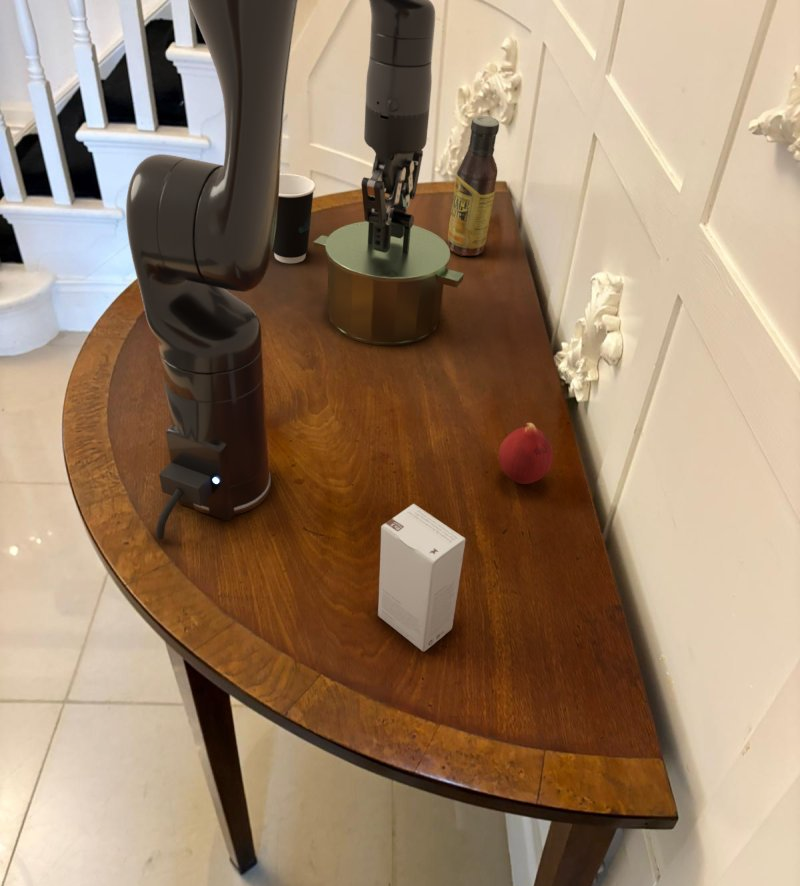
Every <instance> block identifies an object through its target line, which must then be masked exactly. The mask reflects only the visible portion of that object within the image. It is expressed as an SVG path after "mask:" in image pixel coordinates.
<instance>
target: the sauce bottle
mask: <svg viewBox="0 0 800 886" xmlns="http://www.w3.org/2000/svg"><path fill="white" fill-rule="evenodd" d="M499 129H500V121H499V120H498V119H496V118H495V117H492V116H488V115H477V116H474V117H473V118H472V119H471V124H470V131H471V132H470V138H469V144H468V147H467V148H468V149H467V151H466V153H465V155H464V157H463V159H462V161H461V163H460V166H459V168H458V169H457V171H456V176H455V183H454V189H453V195H452V202H451V204H452V205H451V208H450V218H449V225H448V232H447V245H448V247H449V249H450V252H452V253H454V254H456V255H458V256H461V257H462V256H463V257H475V256H479V255H481V254H482V253H483V252H484V249H485V244H486V242H487V236H488V231H489V225H490V220H491V215H492V209H493V205H494V198H495V194H496V182H497V177H498V166H497V163H496V160H495V158H494V153H495V144H496V138H497V135H498V133H499Z"/></svg>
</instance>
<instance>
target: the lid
mask: <svg viewBox="0 0 800 886" xmlns="http://www.w3.org/2000/svg"><path fill="white" fill-rule="evenodd" d="M386 211H387V207H386ZM414 221H415V216H414V215H413V214H411V213H407V212H406V213H403V212H399V211H395V210H393V216H392V222H391V224H394V225H398V226H402V227H405V228H404V236H403V237H402V238H396V237H392V236H391V240H390V249H389V250H388V251H387V252H386V253H384V252H380V251H376V250H374V249H373V247H372V243H373V223H371V222H366V221H365V220H364V221H359V222H354V223H350V224H346V225H344V226H341V227H339V228H337V229H335V230H334V231H333V232H331V233H330V234H329V235H328V236H327V237H328V238H327V240H326V244H325V251H324V252H325V254H326V256H327V258H329V260H330V261H331V262H332V263H333V264H334V265H336V266H337V267H338V268H340V269H342V270H344V271H345V272H348V273H350V274H352V275H355V276H358V277H361V278H366V279H370V280H376V281H383V282H409V281H416V280H421V279H425V278H428V277H431V276H434V275H436V274H438V273H439V272H441V271H442V270H443V269H445V268H446V269H447V267H448V265H449V263H450V259H451V250H450V249H449V247H448V243H447V242H446V241H445V240H444V239H443V238H442V237H441V236H439V235H438V234H436V233H434V232H432V231H430V230H428V229H425V228H422V227H421V226H418V225H414V223H415V222H414Z"/></svg>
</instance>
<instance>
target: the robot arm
mask: <svg viewBox="0 0 800 886" xmlns="http://www.w3.org/2000/svg"><path fill="white" fill-rule="evenodd" d="M187 1H188V4H189V6H190V8H191V11H192V13H193V16H194V18H195V22H196V24H197V25H198V28H199V31H200V33H201V35H202V38H203V40H204V43H205V45H206V47H207V50H208V52H209V55H210V58H211V60H212V63H213V65H214V68H215V72H216V74H217V75H216V76H217V78H218V81H219V86H220V89H221V94H222V100H223V109H224V118H225V120H224V121H225V145H224V146H225V147H224V161H223V164H218V163H214V162H208V161H203V160H198V159H194V158H193V159H192V158H187V157H183V156H178V155H171V154H165V153H164V154H163V153H161V154H159V153H158V154H153V155H150V156H148V157H146V158H144V159H143V160H142V161H141V162H140V163H139V164H138V165H137V166H136V167H135V170H134V171H133V174H132V176H131V178H130V180H129V183H128V188H127V195H126V202H125V203H126V204H125V212H126V213H125V218H126V219H125V220H126V229H127V239H128V243H129V249H130V253H131V258H132V262H133V267H134V270H135V275H136V279H137V284H138V287H139V292H140V296H141V301H142V305H143V309H144V314H145V319H146V323H147V325H148V327H149V330H150V332H151V333H152V335H153V336H154V338H155V339H156V342H157V348H158V352H159V359H160V364H161V371H162V378H163V384H164V389H165V396H166V402H167V409H168V414H169V420H170V426H168V428H167V429H166V430H165V437H166V443H167V449H168V454H169V462H170V463H169V464H168V465H167V466H166V467H164V468H163V470H161V472H159V474H158V477H159V481H160V487H161V492H162V493H164V494H167V495H170V498H169V499H168V501H167V503H166V504H165V506H164V508H163V509H162V511H161V513H160V515H159V518H158V521H157V523H156V532H155V538H156V539H157V540H163V539H164V538H165V532H166V531H165V530H166V524H167V522H168V519H169V517H170V515H171V513H172V511H173V509H174V508H175V507H176V505H177V504H180V505H181V506H184V507H188V508H190V509H193V510H195V511H198V512H200V513H203V514H206V515H209V516H212V517H214V518H217V519H219V520H222V521H224V522H225V521H226V522H228V521H230V520H231V519H232V518H233V517H234V516H235V515H239V514H240V515H241V514H244V513H246V512H248V511H251V510H253V509H254V508H256V507H258V506H259V505H261V504H262V503H263V502H264V501H265V499H266V498H268V496H269V494H270V491H271V488H272V487H271V486H272V479H271V472H270V462H269V446H268V432H267V431H268V427H267V409H266V392H265V377H264V376H265V375H264V357H263V337H262V325H261V322H260V318H259V316H258V314H257V312H256V311H255V310H254V309H253V307H251V306H250V305H249V304H248V303H247V302H246V301H244V300H243V299H241V298H240V297H238V296H236V295H235V294H234V293H232V292H230V291H233V292H234V291H235V292H243V293H246V292H250V291H252V290H255V288H257V287H258V286H259V285H260V284H261V283H262V281H263V280H264V278H265V275H266V273H267V271H268V268H269V266H270V263H271V259H272V255H273V246H274V240H275V232H276V223H277V211H278V198H279V181H280V174H281V162H282V145H283V132H284V131H283V129H284V117H285V116H284V115H285V104H286V103H285V101H286V90H287V81H288V75H289V73H288V72H289V65H290V57H291V48H292V42H293V41H292V40H293V34H294V28H295V21H296V14H297V9H298V8H297V7H298V1H299V0H187ZM368 2H369V8H370V39H369V40H370V42H369V60H368V65H367V72H366V81H365V82H366V83H365V84H366V85H365V106H364V131H363V133H364V134H363V135H364V137H363V138H364V139H363V140H364V142H365V144H366V146H368V147H369V148H371V149H372V150H373V151H374V153H375V156H374V161H373V164H372V169H371V170H372V171H371V177H370V178H369V177H365V176H364V177H363V178H362V180H361V184H360V186H361V193H362V194H361V195H362V205H363V215H364V222H365V221H366V222H371V223H373V243H372V247H373V249H374V250H376V251H380V252H384V253H386V252H387V251H388V250H389V249H390V240H391V236H392V237H396V238H402V237H403V236H404V228H405V227H402V226H398V225H394V224H391V222H392V216H393V210H395V211H399V212H403V213H407V210H409V208H410V206H411V200H414V199H415V198H416V192H417V188H418V183H419V177H420V173H421V166H422V160H423V155H424V150H423V149H424V148H425V147H426V145H427V141H428V140H427V139H428V129H429V118H430V107H431V97H432V83H433V77H432V76H433V75H432V63H433V61H432V60H433V50H434V39H435V27H436V9H435V6H434V4H433V2H432V1H431V0H368ZM386 194H387V195H388V196H386ZM386 208H387V211H386Z"/></svg>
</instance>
